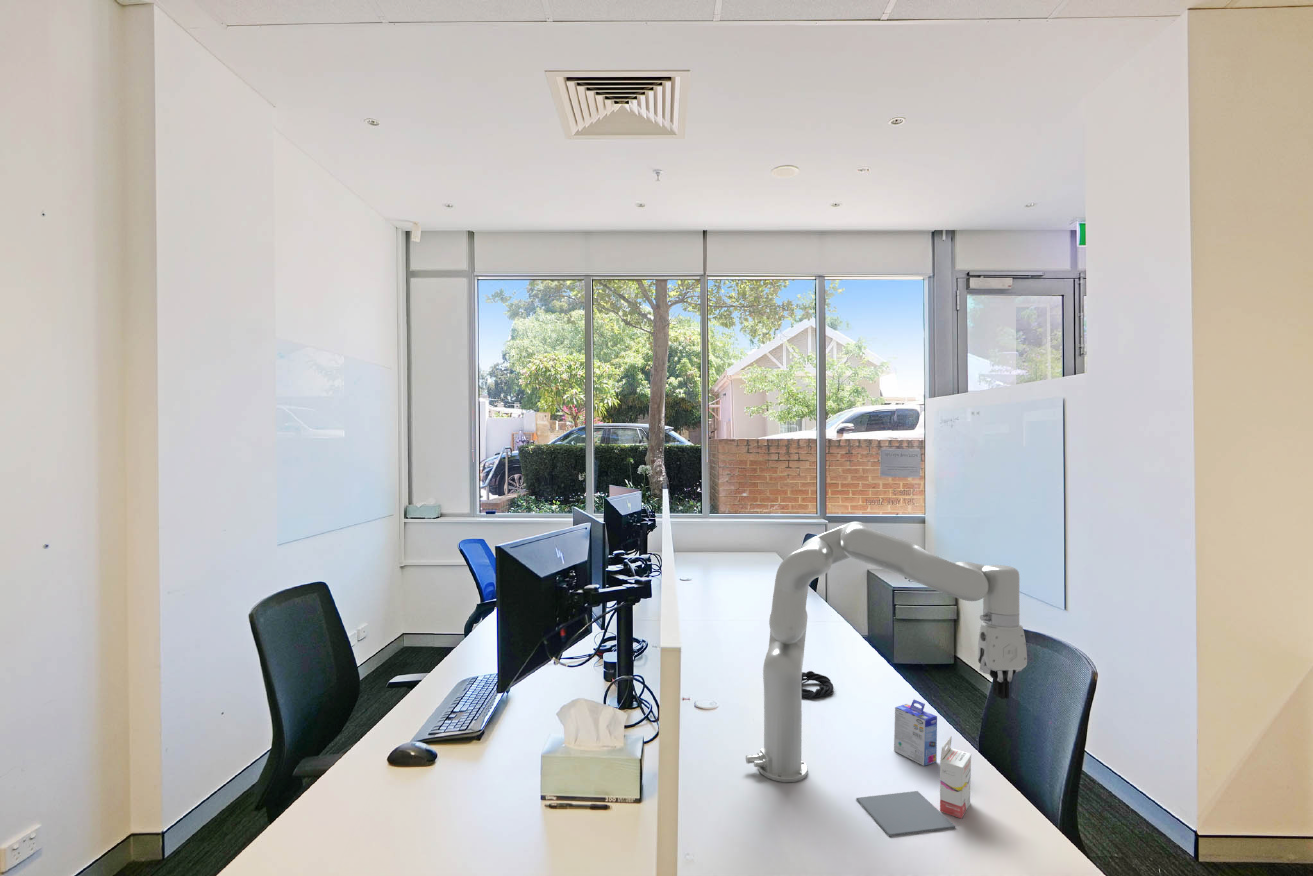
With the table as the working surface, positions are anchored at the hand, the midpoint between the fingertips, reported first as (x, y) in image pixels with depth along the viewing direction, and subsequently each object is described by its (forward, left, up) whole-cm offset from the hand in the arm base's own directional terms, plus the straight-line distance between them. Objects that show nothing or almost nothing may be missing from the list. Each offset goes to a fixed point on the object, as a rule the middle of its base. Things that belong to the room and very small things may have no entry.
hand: (1001, 696), depth 149 cm
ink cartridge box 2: (-12, 0, -25) cm, 28 cm away
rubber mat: (-25, 0, -25) cm, 35 cm away
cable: (-15, +70, -26) cm, 76 cm away
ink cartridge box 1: (-7, +23, -25) cm, 35 cm away
